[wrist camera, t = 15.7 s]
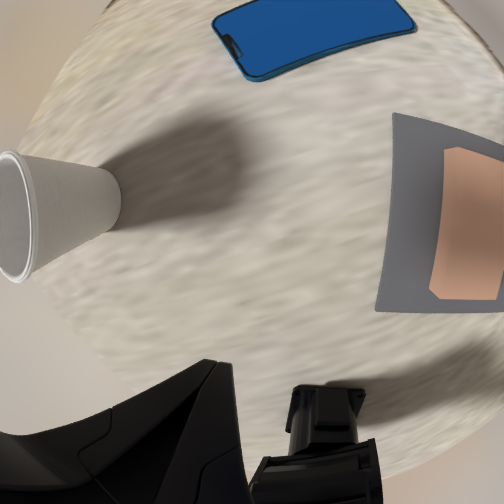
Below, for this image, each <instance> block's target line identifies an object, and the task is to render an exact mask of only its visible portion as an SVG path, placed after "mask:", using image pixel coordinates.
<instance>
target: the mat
mask: <svg viewBox="0 0 504 504" xmlns="http://www.w3.org/2000/svg"><path fill="white" fill-rule="evenodd" d="M392 120H393V169H392V190H391V203H390V215H389V225H388V233H387V241H386V249H385V256H384V262H383V268H382V274H381V280H380V285H379V290H378V295H377V300H376V305H375V311H376V312H400V313H493V312H504V271H503V275H502V279H501V283H500V287H499V291H498V294H497V298H496V300H462V299H439V298H438V297H437V296H436V295H435V294H434V293H433V292H432V291H431V290H430V289H429V285H430V280H431V276H432V271H433V266H434V260H435V255H436V249H437V243H438V236H439V228H440V220H441V210H442V199H443V182H444V150H445V149H450V148H454V147H460V148H463V149H467V150H470V151H473V152H476V153H479V154H482V155H485V156H488V157H491V158H493V159H496V160H499V161H501V162H504V146H503V145H500V144H498V143H495V142H493V141H490V140H488V139H485V138H483V137H480V136H477V135H474V134H472V133H469V132H466V131H463V130H460V129H457V128H453V127H450V126H447V125H443V124H440V123H436V122H433V121H429V120H425V119H421V118H417V117H412V116H408V115H403V114H399V113H393V114H392Z"/></svg>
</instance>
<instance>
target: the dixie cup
mask: <svg viewBox="0 0 504 504" xmlns="http://www.w3.org/2000/svg"><path fill="white" fill-rule="evenodd" d="M120 210H121V192H120V188H119V185H118V182H117V180H116V179H115V177H114V176H113V175H112V174H111V173H110V172H109V171H107V170H105V169H101V168H96V167H90V166H85V165H80V164H74V163H69V162H63V161H57V160H52V159H45V158H39V157H33V156H26V155H20V154H19V153H18V152H17V151H14V150H7V151H5V152H3V153H2V154H1V155H0V270H1V272H2V273H3V274H4V275H5V276H6V277H7V278H8V279H10V280H11V281H13V282H15V283H22V282H24V281H26V280H27V279H28V278H29V277H30V275H31V273H33V272H34V271H36V270H38V269H39V268H41V267H43V266H44V265H46V264H48V263H49V262H51V261H53V260H54V259H56V258H58V257H60V256H61V255H63V254H65V253H67V252H69V251H70V250H72V249H74V248H76V247H78V246H79V245H81V244H83V243H85V242H87V241H89V240H91V239H93V238H95V237H97V236H99V235H100V234H102V233H104V232H106V231H108V230H110V229H111V228H112V227H113V226H114V224H115V223H116V221H117V219H118V217H119V214H120Z"/></svg>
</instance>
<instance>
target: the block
mask: <svg viewBox="0 0 504 504" xmlns="http://www.w3.org/2000/svg"><path fill="white" fill-rule="evenodd" d="M503 271H504V162H501V161H499V160H496V159H493V158H491V157H488V156H485V155H482V154H479V153H476V152H473V151H470V150H467V149H463V148H460V147H454V148H450V149H445V150H444V182H443V199H442V210H441V220H440V228H439V236H438V243H437V249H436V255H435V260H434V266H433V271H432V276H431V280H430V285H429V289H430V290H431V291H432V292H433V293H434V294H435V295H436V296H437V297H438V298H439V299H462V300H496V298H497V294H498V291H499V287H500V283H501V279H502V275H503Z"/></svg>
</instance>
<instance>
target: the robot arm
mask: <svg viewBox="0 0 504 504" xmlns="http://www.w3.org/2000/svg"><path fill="white" fill-rule="evenodd" d="M297 391H300V392H297ZM359 394H361V395H359ZM365 396H366V393H365V390H364V389H337V388H316V387H302V386H297V387H295V388H294V389H293V392H292V398H291V403H290V408H289V413H288V418H287V423H286V429H285V431H286V432H287V433H291V437H290V445H289V452H288V456H278V457H271V456H266V457H263V459H262V461H261V463H260V465H259V466H258V468H257V470H256V472H255V474H254V476H253V478H252V480H251V481H250V483H249V485H248V482H247V478H246V474H245V469H244V463H243V457H242V449H241V442H240V433H239V425H238V416H237V406H236V397H235V387H234V377H233V367H232V364H231V363H227V362H217V361H215V360H210V359H203V360H201V361H199V362H197V363H196V364H194V365H192V366H190V367H188V368H187V369H185V370H183V371H181V372H179V373H178V374H176V375H174V376H172V377H170V378H168V379H167V380H165V381H163V382H161V383H159V384H157V385H155V386H153V387H151V388H149V389H147V390H146V391H144V392H142V393H140V394H138V395H136V396H134V397H132V398H130V399H128V400H126V401H124V402H121V403H119V404H117V405H115V406H113V407H112V408H109V409H106V410H104V411H102V412H100V413H98V414H95V415H93V416H90V417H88V418H85V419H83V420H80V421H77V422H74V423H71V424H68V425H65V426H61V427H57V428H54V429H50V430H46V431H43V432H39V433H34V434H30V435H11V434H7V433H3V432H0V504H383V492H382V483H381V474H380V467H379V460H378V454H377V448H376V443H375V438H372V439H368V441H365V442H361V443H359V442H358V433H357V425H356V418H357V415H358V413H359V411H360V408H361V406H362V403H363V401H364V398H365Z"/></svg>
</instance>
